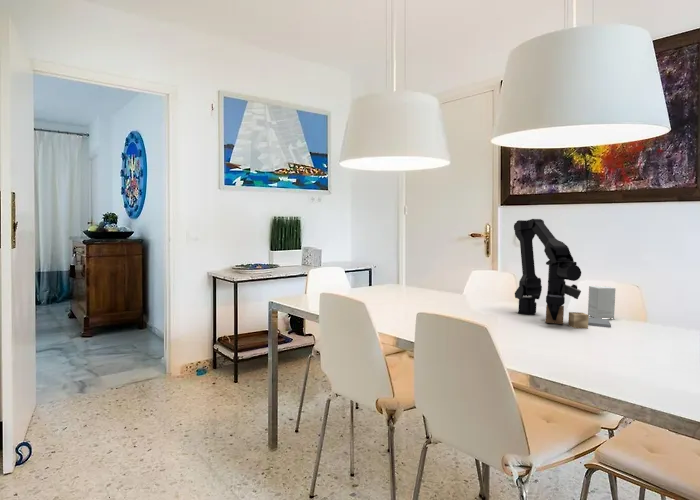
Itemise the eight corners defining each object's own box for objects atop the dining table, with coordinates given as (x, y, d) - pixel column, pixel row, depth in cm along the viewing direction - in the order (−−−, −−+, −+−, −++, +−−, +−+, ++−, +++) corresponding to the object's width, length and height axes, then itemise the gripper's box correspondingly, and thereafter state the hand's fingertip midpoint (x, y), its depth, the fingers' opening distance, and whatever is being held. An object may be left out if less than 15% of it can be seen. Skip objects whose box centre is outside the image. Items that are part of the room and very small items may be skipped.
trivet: (574, 324, 176) (574, 321, 176) (573, 318, 187) (574, 316, 187) (610, 327, 171) (611, 324, 171) (607, 321, 182) (608, 319, 182)
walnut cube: (545, 322, 175) (546, 306, 175) (546, 319, 181) (546, 304, 181) (563, 324, 173) (563, 308, 173) (563, 321, 178) (563, 305, 178)
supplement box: (614, 319, 186) (616, 288, 185) (596, 319, 186) (597, 287, 186) (605, 316, 193) (606, 285, 193) (587, 315, 194) (588, 285, 193)
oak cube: (573, 328, 169) (574, 314, 168) (568, 325, 174) (568, 312, 173) (587, 328, 168) (588, 315, 168) (582, 325, 173) (582, 312, 173)
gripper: (581, 281, 164) (578, 325, 165) (579, 276, 181) (577, 316, 182) (546, 279, 169) (544, 322, 170) (548, 275, 186) (546, 313, 187)
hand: (554, 318), depth 177 cm, fingers closed on walnut cube, 6 cm apart
